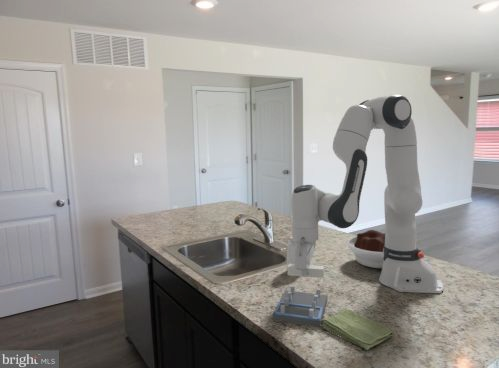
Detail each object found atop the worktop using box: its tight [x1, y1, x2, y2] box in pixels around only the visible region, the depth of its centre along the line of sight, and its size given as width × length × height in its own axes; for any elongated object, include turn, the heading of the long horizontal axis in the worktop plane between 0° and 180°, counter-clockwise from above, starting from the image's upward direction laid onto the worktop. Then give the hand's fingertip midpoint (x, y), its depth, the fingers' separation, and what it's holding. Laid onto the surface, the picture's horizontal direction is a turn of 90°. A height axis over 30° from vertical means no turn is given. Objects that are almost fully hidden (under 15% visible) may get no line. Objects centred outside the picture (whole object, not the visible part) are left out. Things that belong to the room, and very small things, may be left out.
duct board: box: [272, 284, 328, 328], centre depth 123 cm, size 15×18×4 cm
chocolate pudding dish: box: [346, 229, 385, 269], centre depth 162 cm, size 25×25×15 cm
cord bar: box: [286, 264, 325, 279], centre depth 126 cm, size 12×3×3 cm, turn 72°
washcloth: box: [321, 309, 394, 351], centre depth 109 cm, size 13×18×3 cm
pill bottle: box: [286, 235, 297, 272], centre depth 155 cm, size 8×8×15 cm
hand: (305, 273), depth 126 cm, fingers closed on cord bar, 3 cm apart
